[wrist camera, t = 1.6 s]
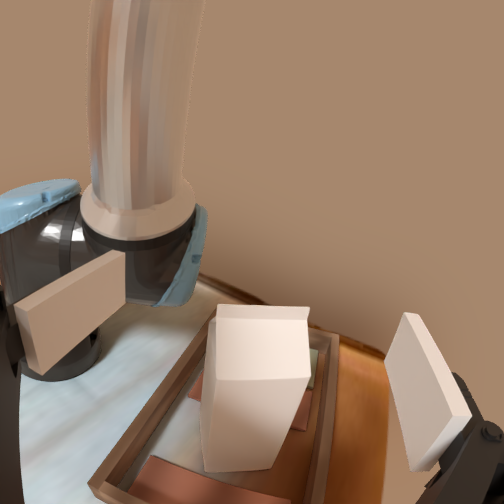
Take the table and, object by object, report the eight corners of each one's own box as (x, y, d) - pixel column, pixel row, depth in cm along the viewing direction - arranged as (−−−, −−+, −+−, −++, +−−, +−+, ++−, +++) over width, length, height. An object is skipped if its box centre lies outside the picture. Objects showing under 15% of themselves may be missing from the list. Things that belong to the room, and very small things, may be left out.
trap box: (95, 497, 20) (87, 483, 19) (217, 320, 53) (219, 303, 52) (300, 567, 17) (312, 561, 15) (332, 351, 50) (339, 334, 48)
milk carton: (271, 469, 28) (326, 335, 21) (204, 473, 26) (222, 335, 19) (258, 421, 34) (296, 285, 27) (198, 422, 33) (213, 280, 26)
